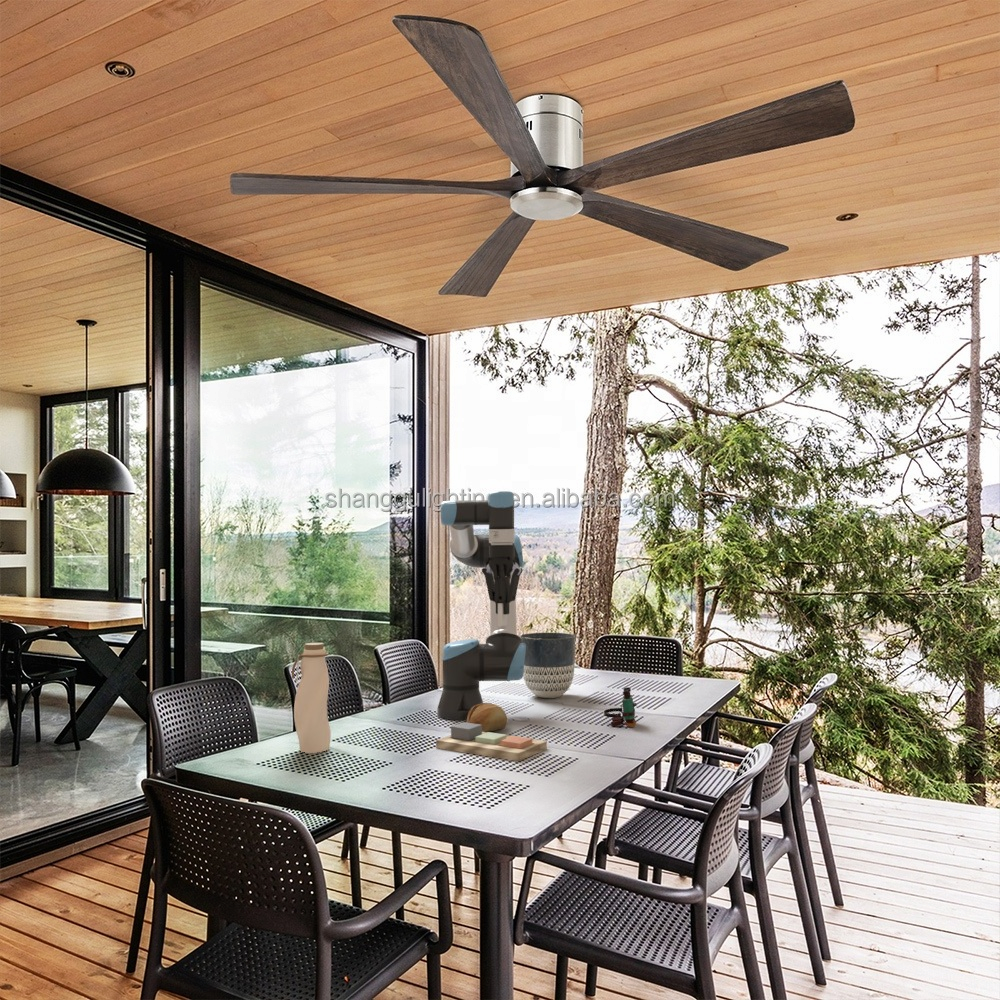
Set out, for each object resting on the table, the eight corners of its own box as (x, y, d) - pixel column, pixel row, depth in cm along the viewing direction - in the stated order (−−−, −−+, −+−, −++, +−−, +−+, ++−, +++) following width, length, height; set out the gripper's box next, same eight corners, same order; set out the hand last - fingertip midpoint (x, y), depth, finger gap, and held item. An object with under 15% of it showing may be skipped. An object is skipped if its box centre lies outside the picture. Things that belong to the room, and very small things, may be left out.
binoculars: (602, 688, 243) (635, 686, 241) (606, 723, 242) (639, 721, 240) (599, 694, 234) (634, 691, 232) (604, 730, 233) (638, 728, 231)
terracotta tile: (500, 752, 206) (500, 740, 207) (513, 747, 211) (512, 735, 212) (520, 755, 203) (520, 743, 203) (532, 750, 208) (532, 738, 208)
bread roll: (457, 735, 227) (457, 706, 228) (487, 724, 239) (487, 697, 240) (484, 739, 222) (484, 710, 222) (514, 728, 234) (514, 701, 234)
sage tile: (475, 748, 211) (475, 736, 211) (488, 743, 216) (488, 732, 216) (494, 751, 208) (494, 739, 208) (506, 746, 212) (506, 734, 213)
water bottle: (296, 756, 206) (296, 647, 207) (288, 748, 213) (288, 643, 215) (335, 751, 210) (335, 644, 212) (326, 744, 218) (326, 641, 220)
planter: (585, 694, 283) (584, 634, 284) (560, 704, 267) (558, 640, 268) (538, 690, 293) (537, 631, 295) (510, 699, 277) (509, 637, 278)
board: (436, 747, 213) (436, 740, 213) (466, 736, 225) (466, 729, 225) (518, 761, 199) (518, 753, 199) (546, 748, 210) (546, 741, 210)
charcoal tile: (451, 737, 215) (451, 726, 215) (464, 733, 220) (464, 722, 220) (469, 740, 212) (469, 729, 212) (482, 735, 217) (481, 724, 217)
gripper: (476, 544, 233) (476, 625, 232) (513, 544, 226) (514, 628, 225) (490, 544, 239) (491, 623, 238) (527, 543, 232) (528, 625, 231)
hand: (502, 625), depth 231 cm, fingers closed
